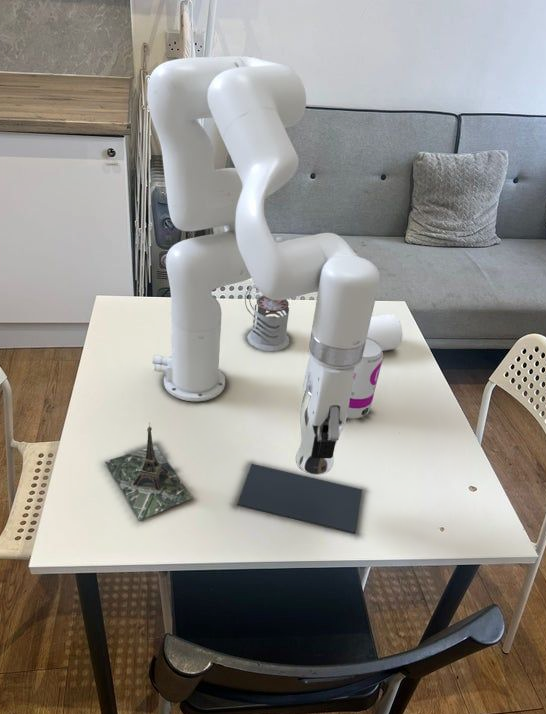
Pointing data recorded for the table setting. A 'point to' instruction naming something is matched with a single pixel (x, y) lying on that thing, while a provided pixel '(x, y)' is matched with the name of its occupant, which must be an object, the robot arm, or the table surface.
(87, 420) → the table surface
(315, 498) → the mat
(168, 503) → the eiffel tower figurine
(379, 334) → the mug
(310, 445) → the beer glass
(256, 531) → the table surface
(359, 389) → the supplement can
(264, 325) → the french press
